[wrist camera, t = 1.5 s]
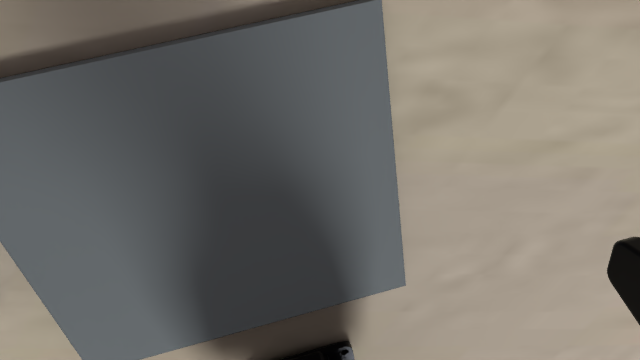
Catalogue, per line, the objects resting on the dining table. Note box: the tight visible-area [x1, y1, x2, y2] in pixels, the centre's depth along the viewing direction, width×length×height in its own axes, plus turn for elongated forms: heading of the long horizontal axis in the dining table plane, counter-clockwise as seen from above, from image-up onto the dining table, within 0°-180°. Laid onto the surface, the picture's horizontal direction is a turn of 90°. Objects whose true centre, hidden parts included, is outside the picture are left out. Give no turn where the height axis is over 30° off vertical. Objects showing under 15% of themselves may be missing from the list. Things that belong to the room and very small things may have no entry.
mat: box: [0, 0, 406, 360], centre depth 22 cm, size 16×18×1 cm
